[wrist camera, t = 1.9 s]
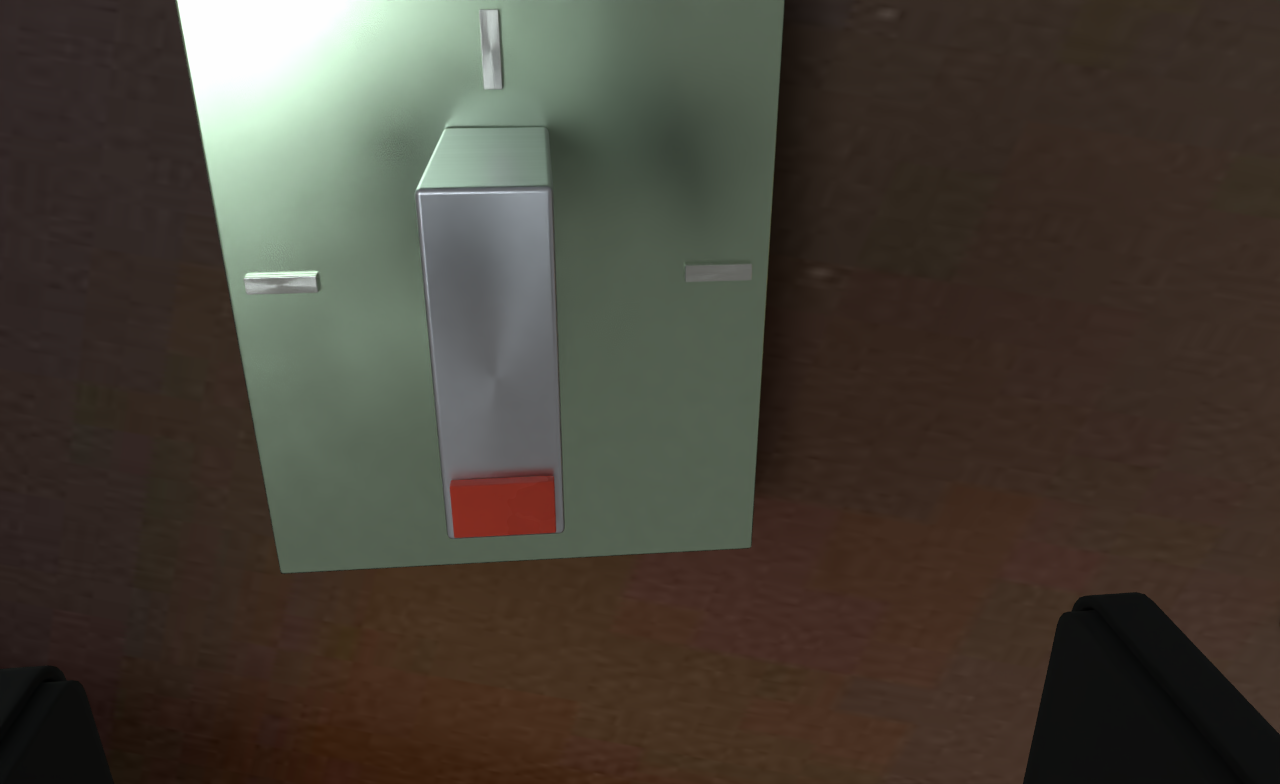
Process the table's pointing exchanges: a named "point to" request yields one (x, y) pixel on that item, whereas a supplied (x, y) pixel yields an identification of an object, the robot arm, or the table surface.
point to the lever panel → (584, 246)
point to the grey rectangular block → (493, 329)
